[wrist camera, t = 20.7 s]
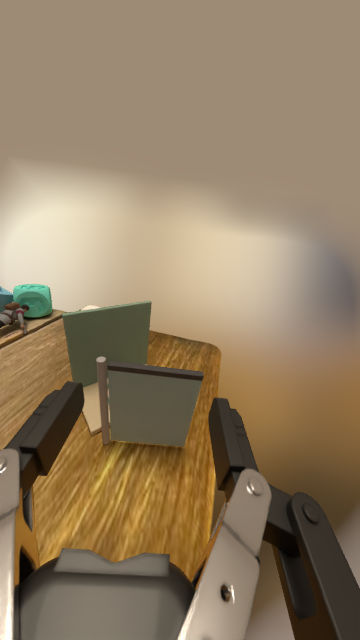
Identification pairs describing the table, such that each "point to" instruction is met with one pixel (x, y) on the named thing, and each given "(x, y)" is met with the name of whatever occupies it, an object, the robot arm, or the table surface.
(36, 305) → the decorative dice
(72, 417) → the robot arm
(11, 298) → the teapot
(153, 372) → the shower door
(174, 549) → the table surface
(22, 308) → the action figure
